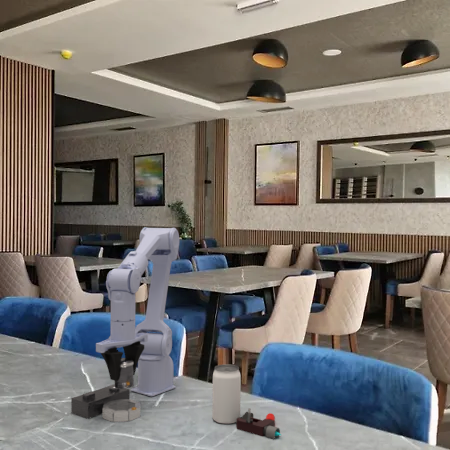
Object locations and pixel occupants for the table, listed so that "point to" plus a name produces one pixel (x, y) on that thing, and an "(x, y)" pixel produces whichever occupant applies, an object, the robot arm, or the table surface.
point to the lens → (125, 374)
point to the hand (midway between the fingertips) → (122, 377)
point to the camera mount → (107, 404)
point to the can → (226, 394)
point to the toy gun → (258, 425)
